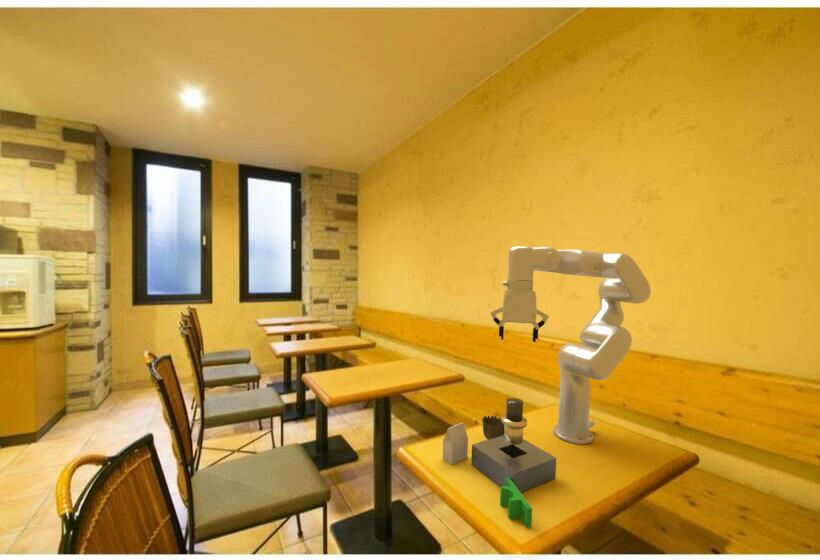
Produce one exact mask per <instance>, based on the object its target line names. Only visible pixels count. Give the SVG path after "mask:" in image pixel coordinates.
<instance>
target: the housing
mask: <svg viewBox="0 0 820 560" xmlns="http://www.w3.org/2000/svg"><path fill="white" fill-rule="evenodd" d="M470 461H471V463H470V464H471V466H472V467H473V468H474V469H476V470H477V471H478V472H480V473H481V474H482V475H483V476H485V477H486V478H487V479H489V481H491V482H493V483H494V484H495V485H496V486H498V487H499V488H500V489H501V486H505V478H510V479H511V480H512V482H513V483H514V484H515V486H516V487H517V488H518V490H519V491H520V493H521V494H522V495H523V494H525V493H526V492H529V491H532V490H533V489H536V488H538V487H540V486H543V485H545V484H548V483H550V482H553V481H555V480H556V477H557V476H556V475H557V474H556V472H557V471H556V470H557V457H555V456H554V455H552V454H551V453H549V452H547V451H546V450H544V449H542V448H540V447H538V446H537V445H534V444H533V443H531V442H529V441H528V440H526V439H524V438H523V443H522V444H519V445H514V444H510V443H507V442H506V441H505V440H504V435H503V436H499V437H496V438H493V439H489V440H487V439H486V440H483V441H480V442H476V443H473V444H471V460H470Z"/></svg>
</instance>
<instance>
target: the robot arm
mask: <svg viewBox="0 0 820 560" xmlns="http://www.w3.org/2000/svg"><path fill="white" fill-rule="evenodd" d="M507 268H508V273H507V280H506V281H502V286H503V287H507V289H504V293H503V297H502V298H503V300H502V306H501V307H500V308H497V309H495V310H492V311H491V312H490V315H491V318H492V320H493V321H494V322H495V324H496V325H497V326H498V328H499V329H498V337H500V340H502V341H503V340H504V335H505V333H504V331H505V330H504V329H505V326H504V325H505V324H506V323H517V324H531V325H532V326H533V328H532V342H533V343H536V341H537V340H539V330H540V328H541V327H543V326H544V325H545V324H546V322H547V320H548V319H549V315H548V314H546V313H545V312H543V311H541V310H539V309H537V295H536V291H535V290H534V289H533V288H534V271H538V272H548V273H556V274H561V275H567V276H568V275H571V276H579V277H582V276H583V277H589V278H590V277H591V278H603V279H602V280H601V282H600V283H599V285H598V290H597V291H598V296H599V307H598V310H597V311H596V312H595V314H594V315H593V316H592V318H590V319H589V321H588V322H587V323H586V325H585V326H584V327H583V328H582V329H581V332H580V334H579V340H580V342H581V343H582V344H580V343H577V342H576V343H575V342H568V343H566V344H564V345H562V346H561V347H560V348H559V350H558V357H557V362H558V367H559V377H560V378H559V379H560V381H559V382H560V383H559V397H558V398H559V399H558V401H559V403H558V423H557V424H556V425H554V426H553V429H552V432H553V434H554V435H555V436H556V437H557V438H559V439H560V440H562V441H566V442H568V443H573V444H577V445H578V444H579V445H587V444H590V443H592V442H593V441H594V434H593V433H592V432H591V431H590V430H591V428H593V427H595V426H596V424H597V423H596V421H595V420H593V419H591V420H590V413H591V412H590V411H591V410H590V409H591V408H590V407H591V392H592V391H591V390H592V389H591V388H592V387H591V385H592V384H591V381H590V379H591V380H594V381H603V380H606V379H607V378H609V377H610V376H611V375H612V374H613V373H614V371H615V370H616V368H617V367H618V366H619V364H620V363H621V362H622V361H623V360H624V358H625V357H626V356H627V354H628V353H629V351H630V350H631V346H632V335H631V333H630V331H629V330H628V329H627V328H625V327H624V326H621V325H622V324H623V322H624V317H625V316H624V311H623V309H622V304H621V303H628V304H635V305H636V304H637V305H638V304H642V303H645V302H646V301H648V300H649V298H650V296H651V293H652V292H651V291H652V290H651V286H650V283H649V281H648V279H647V278H646V276H645V274H644V273H643V271H642V270H641V268H640V266H639V265H638V264H637V263H636V261H635V260H634V259H633V258H632V257H631V256H630V255H629V254H627V253H625V252H598V251H589V250H582V249H556V248H554V247H552V246H522V245H521V246H517V245H516V246H512V247H510V248H509V250H508V267H507ZM500 313H501V318H502V319H501V320H500V319H499V318H498V317H497V314H500ZM537 315H538V316H539V317H541V320H540V321H539V322H537Z"/></svg>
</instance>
